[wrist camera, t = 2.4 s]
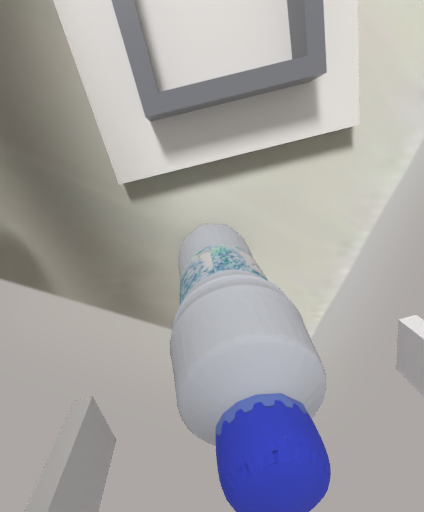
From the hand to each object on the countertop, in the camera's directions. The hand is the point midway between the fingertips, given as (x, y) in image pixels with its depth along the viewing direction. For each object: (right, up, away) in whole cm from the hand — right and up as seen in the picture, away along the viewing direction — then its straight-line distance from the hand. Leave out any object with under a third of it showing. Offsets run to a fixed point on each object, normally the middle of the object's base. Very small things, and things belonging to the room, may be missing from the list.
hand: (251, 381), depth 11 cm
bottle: (-2, +6, +14) cm, 16 cm away
